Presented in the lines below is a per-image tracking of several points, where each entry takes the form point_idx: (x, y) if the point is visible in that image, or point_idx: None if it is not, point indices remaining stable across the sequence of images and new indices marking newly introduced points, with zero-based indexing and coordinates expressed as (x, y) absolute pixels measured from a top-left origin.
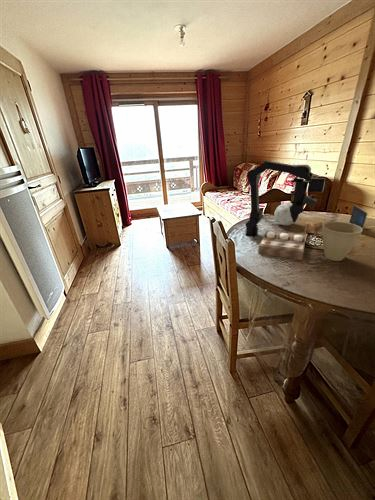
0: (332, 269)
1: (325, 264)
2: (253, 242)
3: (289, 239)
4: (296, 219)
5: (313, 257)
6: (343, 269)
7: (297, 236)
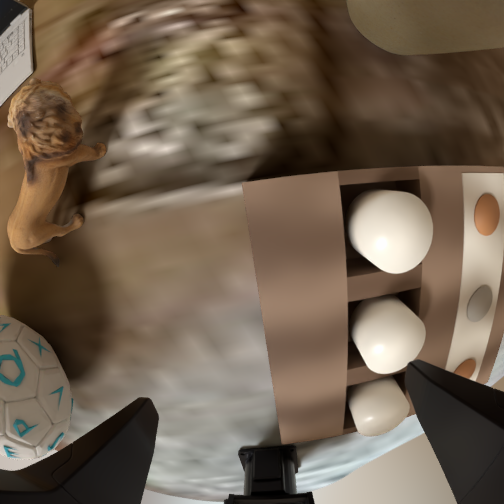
0: (483, 53)
1: (469, 68)
2: None
3: (403, 287)
4: (458, 376)
5: (443, 111)
6: None
7: (411, 240)
